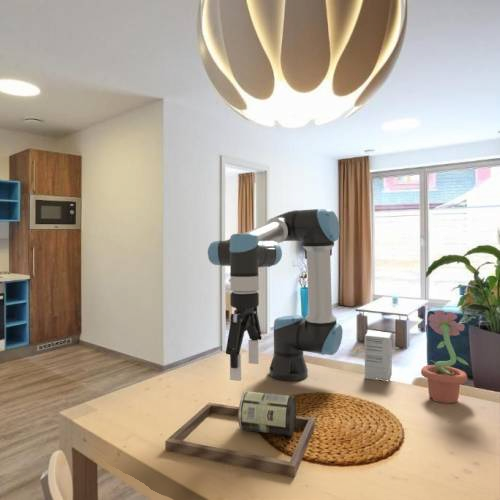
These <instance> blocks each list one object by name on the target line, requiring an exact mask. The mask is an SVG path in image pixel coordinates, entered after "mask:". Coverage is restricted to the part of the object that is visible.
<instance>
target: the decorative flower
mask: <svg viewBox="0 0 500 500" xmlns="http://www.w3.org/2000/svg"><path fill="white" fill-rule="evenodd" d="M433 313H434V314H432V313H430V314H429V315H428V317H427V318H428V321H429V322H428V325H429V327H430V328H431V329H432V330H433V331H434V332H435V333H437V334H439V335H441V336H443V341H440V342H439V343H438V344H437V347H436V349H442V348H444V346H445V348H446V349H447V352H448V354H449V357H450V359H449V360H439V361H434V360H431V359H429V361H430V362H432V363H434V364H427V365H425V366H422V368H421V370H420V374H421V376H422V377H424V378H426V379H427V385H428V395H429V397H430V398H431V399H432V400H434V401H436V402H439V403H442V404H443V403H444V404H454V403H457V402H458V400H459V397H460V385H461V384H463V383H467V381H468V375H467V373H466V372H465V371H463V370H461V369H459V368H455V367H453V366H454V365H455V364H456V363H457V361H458V363H460V364H463V365H467V366H469V363H468V362H467V361H466V360H464V359H463V358H461V357H459V356H457V355H456V352H455V350H454V347H453V344H452V342H451V338H450V336H451V337H452V336H459V335H460V334H461V333H460V332H463V331H465V328H466V327H465V324H463V323H457V322H456V321H455V320H456V319H457V318H458V315H457V314H456V313H454V312H451V311H447V312H446V311H445V310H442V309H437V310H434V312H433Z"/></svg>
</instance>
